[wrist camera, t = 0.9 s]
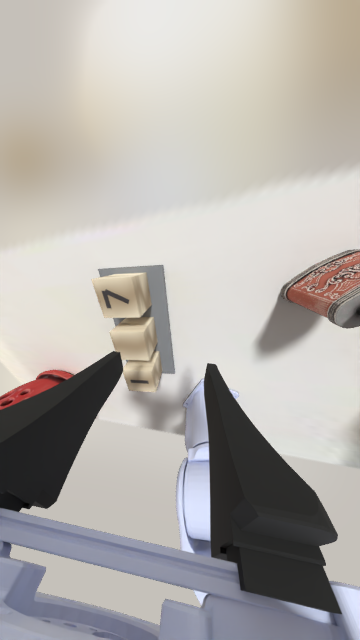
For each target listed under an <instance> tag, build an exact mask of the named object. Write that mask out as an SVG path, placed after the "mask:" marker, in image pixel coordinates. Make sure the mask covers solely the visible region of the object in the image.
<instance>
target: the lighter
mask: <svg viewBox="0 0 360 640" xmlns="http://www.w3.org/2000/svg"><path fill="white" fill-rule="evenodd" d="M281 296H282V297H283V299H285V300H287V301H289V302H292V303H297V304H299V305H301V306H303V307H305V308H307V309H309V310H312V311H314V312H316V313H318V314H320V315H322V316H324V317H327V318H328V319H329V321H331V322H332V323H334V324H336V325H338V326H340V327H342V328H354V327H358V326H360V249H359V250H348V251H345V252H342V253H340V254H337V255H334V256H332V257H329V258H327V259H325V260H323V261H321V262H319V263H317V264H315V265H313V266H311V267H310V268H308V269H306V270H305V271H303V272H301V273H300V274H298V275H297V276H296V277H294V278H293V279H291V280H290V281H289V282H287V283H286V284H285V285H284V286H283V288H282V289H281Z"/></svg>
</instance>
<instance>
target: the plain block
mask: <svg viewBox="0 0 360 640" xmlns="http://www.w3.org/2000/svg"><path fill="white" fill-rule="evenodd" d="M109 333H110V336H111V339H112V342H113V345H114V348H115V350H116V352H120V354H121V359H122V360H146V361H149V360H150V358H151V355H152V353H153V351H154V349H155V347H156V344H157V342H158V340H157V334H156V328H155V321H154V317H140V318H125V319H124V320H123V321H122V322H120V323H119V324H118V325H117V326H116V327H115V328H114V329H112V330H111V331H110V332H109Z"/></svg>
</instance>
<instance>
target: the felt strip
mask: <svg viewBox="0 0 360 640" xmlns="http://www.w3.org/2000/svg"><path fill="white" fill-rule="evenodd" d="M98 271H99V274H100V277H104V276H109V275H113V274H127V273H144V272H147V278H148V284H149V291H150V297H151V303H152V305H151V306H150V307H149V308H148V309H147V311H146V312H145V313H144V314H143V315H142V316H141V317H154V321H155V328H156V334H157V340H158V342H157V344H156V347H155V349H154V351H159V352H160V358H161V365H162V373H171V374H175V369H174V360H173V351H172V342H171V332H170V323H169V314H168V305H167V296H166V286H165V277H164V268H163V265H155V266H140V267H124V268H108V269H98ZM113 319H114V323H115V326H117V325H118V324H119V323H120V322H122V321H123V320H124V319H125V318H113ZM126 362H128V360H126Z"/></svg>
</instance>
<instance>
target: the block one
mask: <svg viewBox="0 0 360 640" xmlns="http://www.w3.org/2000/svg"><path fill="white" fill-rule="evenodd" d="M161 373H162V365H161V358H160V352H159V351H153V353H152V355H151V358H150V360H149V361H146V360H128V362H127V363H126V365H125V366H124V368H123V374H124V377H125V380H126V383H127V386H128V389H129V391H144V392H156V390H157V387H158V383H159V380H160V377H161Z"/></svg>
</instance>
